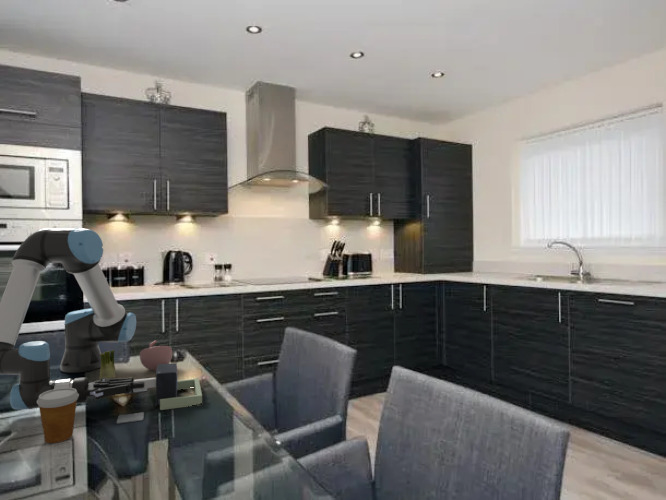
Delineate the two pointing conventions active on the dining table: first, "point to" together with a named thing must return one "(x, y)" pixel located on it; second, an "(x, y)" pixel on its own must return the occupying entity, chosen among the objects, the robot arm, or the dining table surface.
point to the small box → (166, 381)
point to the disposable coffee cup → (58, 413)
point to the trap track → (169, 400)
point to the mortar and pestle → (155, 356)
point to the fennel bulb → (107, 365)
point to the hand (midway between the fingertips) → (155, 382)
